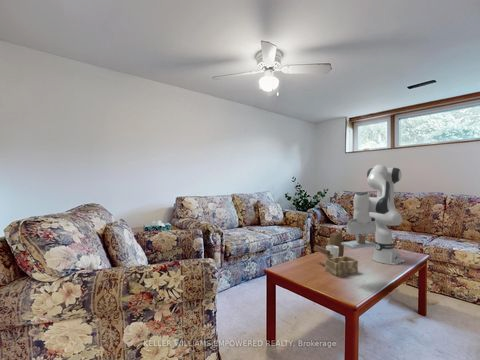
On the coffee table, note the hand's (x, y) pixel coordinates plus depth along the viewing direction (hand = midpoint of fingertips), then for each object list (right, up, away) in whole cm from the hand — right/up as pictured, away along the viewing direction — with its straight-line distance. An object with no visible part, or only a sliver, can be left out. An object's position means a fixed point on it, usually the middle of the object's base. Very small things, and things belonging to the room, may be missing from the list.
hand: (361, 240), depth 146 cm
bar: (-16, -15, +25) cm, 33 cm away
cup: (-6, -24, +30) cm, 39 cm away
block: (+1, -24, +40) cm, 47 cm away
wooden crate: (-7, -24, +13) cm, 28 cm away
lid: (-2, -3, -1) cm, 3 cm away
